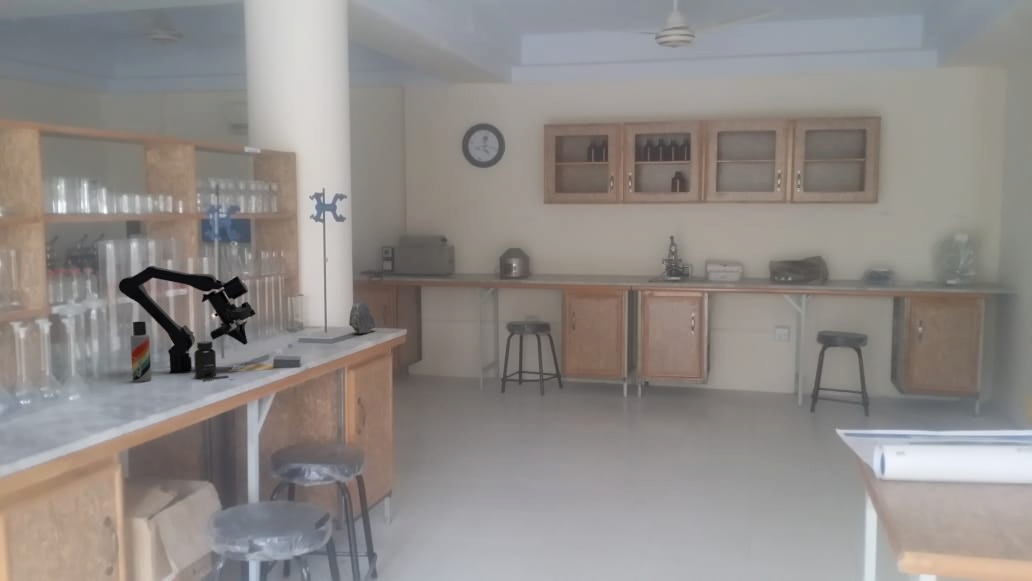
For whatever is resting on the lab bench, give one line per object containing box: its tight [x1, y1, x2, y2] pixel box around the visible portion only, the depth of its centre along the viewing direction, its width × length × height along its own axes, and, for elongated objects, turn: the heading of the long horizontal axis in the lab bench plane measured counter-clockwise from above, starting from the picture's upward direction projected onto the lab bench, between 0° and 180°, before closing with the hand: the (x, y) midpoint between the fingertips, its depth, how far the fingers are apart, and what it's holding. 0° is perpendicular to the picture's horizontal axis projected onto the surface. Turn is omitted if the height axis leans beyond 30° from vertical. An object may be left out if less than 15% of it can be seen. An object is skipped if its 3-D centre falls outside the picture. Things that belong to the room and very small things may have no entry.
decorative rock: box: [348, 300, 376, 334], centre depth 374 cm, size 16×7×15 cm, turn 157°
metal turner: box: [202, 375, 235, 383], centre depth 277 cm, size 15×6×1 cm, turn 123°
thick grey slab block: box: [272, 355, 302, 369], centre depth 296 cm, size 3×7×9 cm
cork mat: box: [229, 363, 278, 373], centre depth 294 cm, size 16×12×1 cm
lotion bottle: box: [130, 321, 152, 383], centre depth 273 cm, size 6×6×20 cm
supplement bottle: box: [193, 340, 217, 380], centre depth 279 cm, size 7×7×12 cm
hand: (246, 344), depth 293 cm, fingers closed
